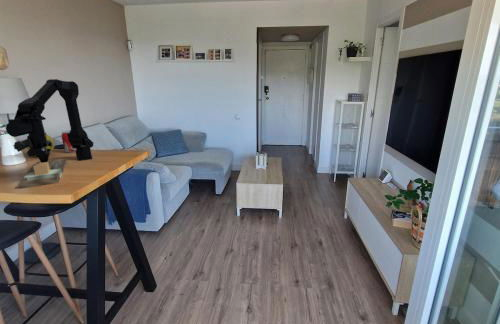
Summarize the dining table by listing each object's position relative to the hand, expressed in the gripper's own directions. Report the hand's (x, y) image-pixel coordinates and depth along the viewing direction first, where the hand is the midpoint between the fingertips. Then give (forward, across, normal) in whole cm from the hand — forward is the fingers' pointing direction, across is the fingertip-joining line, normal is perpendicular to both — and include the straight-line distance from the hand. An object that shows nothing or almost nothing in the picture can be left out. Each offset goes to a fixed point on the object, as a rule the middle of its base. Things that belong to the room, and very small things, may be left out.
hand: (45, 166), depth 121 cm
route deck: (+4, 0, 0) cm, 4 cm away
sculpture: (+4, -44, -8) cm, 45 cm away
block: (+1, +6, 0) cm, 6 cm away
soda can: (+4, -44, +6) cm, 44 cm away
